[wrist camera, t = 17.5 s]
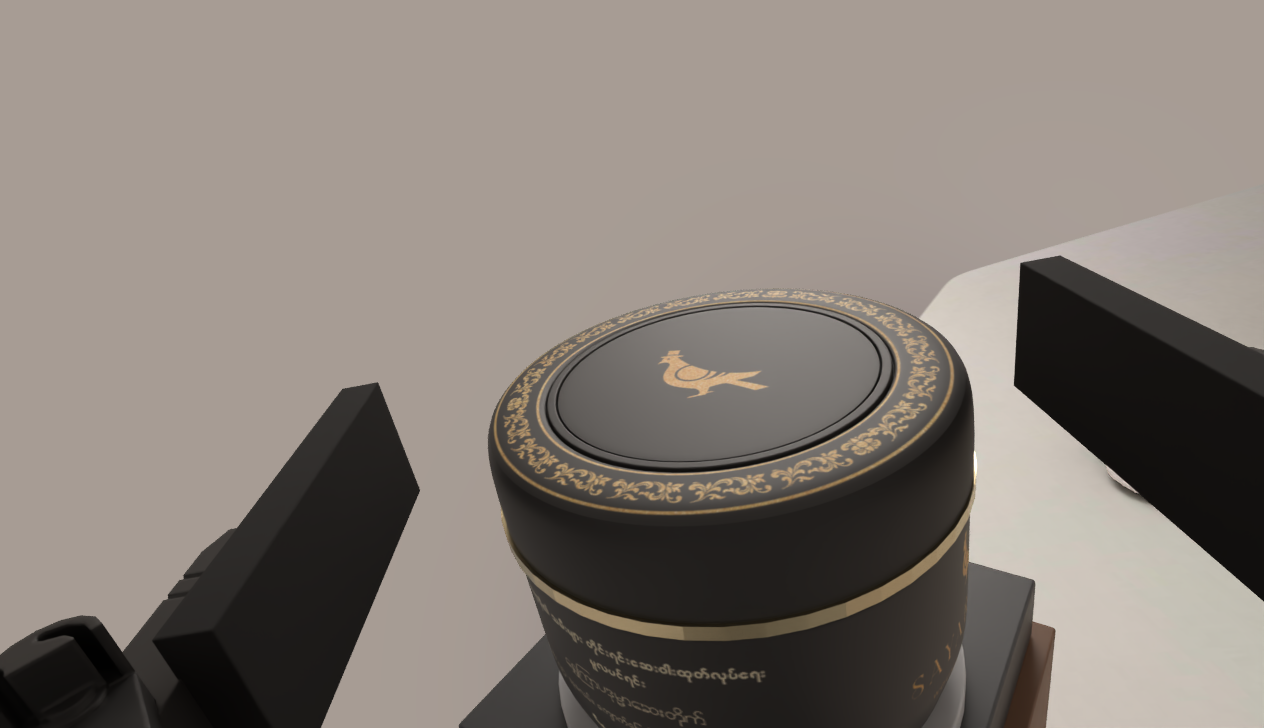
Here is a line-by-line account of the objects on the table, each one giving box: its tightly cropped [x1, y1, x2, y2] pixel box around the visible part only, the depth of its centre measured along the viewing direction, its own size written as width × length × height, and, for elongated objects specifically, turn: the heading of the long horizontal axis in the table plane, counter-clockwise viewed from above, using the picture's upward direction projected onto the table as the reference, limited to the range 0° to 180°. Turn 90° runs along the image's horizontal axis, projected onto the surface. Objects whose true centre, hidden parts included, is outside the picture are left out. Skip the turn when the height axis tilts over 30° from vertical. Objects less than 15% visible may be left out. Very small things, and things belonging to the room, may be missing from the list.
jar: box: [488, 289, 977, 728], centre depth 16 cm, size 10×10×8 cm
